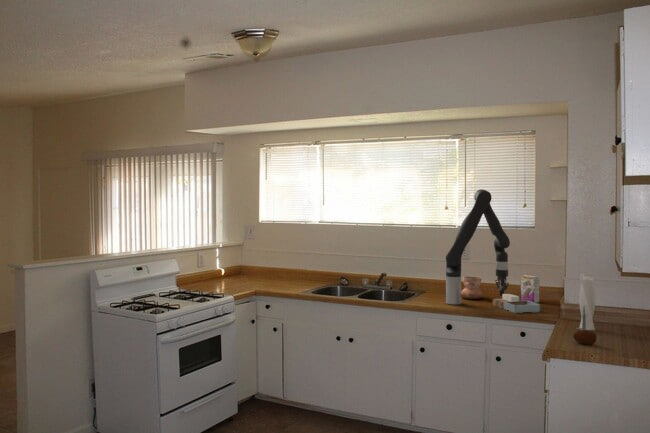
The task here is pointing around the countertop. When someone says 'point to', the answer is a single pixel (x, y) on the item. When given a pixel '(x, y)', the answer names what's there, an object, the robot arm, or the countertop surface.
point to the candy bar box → (530, 288)
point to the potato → (585, 337)
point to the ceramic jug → (471, 287)
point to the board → (500, 302)
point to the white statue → (587, 303)
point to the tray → (522, 307)
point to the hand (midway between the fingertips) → (501, 296)
